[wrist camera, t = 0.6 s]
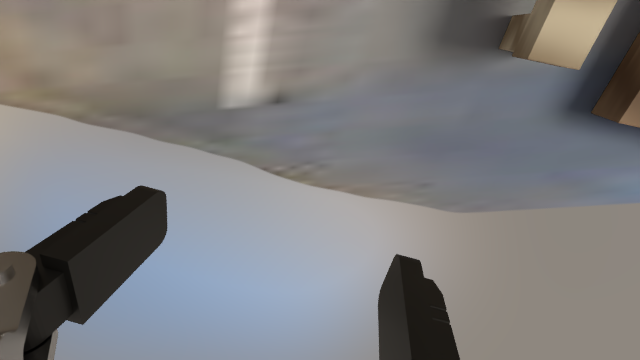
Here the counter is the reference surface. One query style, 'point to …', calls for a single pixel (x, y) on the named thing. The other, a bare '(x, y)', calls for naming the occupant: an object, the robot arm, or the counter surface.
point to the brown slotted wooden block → (623, 91)
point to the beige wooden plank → (557, 31)
